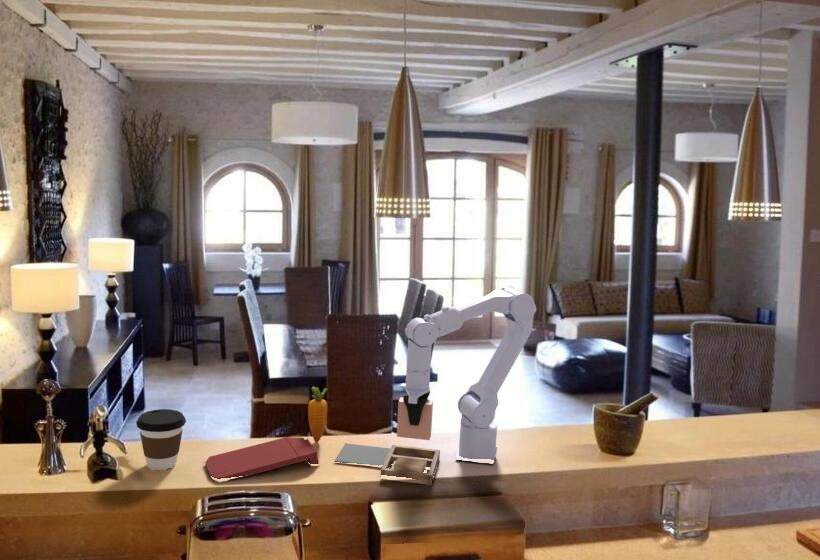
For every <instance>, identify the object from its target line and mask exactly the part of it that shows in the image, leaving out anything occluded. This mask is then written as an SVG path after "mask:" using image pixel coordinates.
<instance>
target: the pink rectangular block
mask: <svg viewBox="0 0 820 560" xmlns="http://www.w3.org/2000/svg"><path fill="white" fill-rule="evenodd" d="M397 405H398V406H397V408H398V409H397V424H396V425H397V426H396V438H397V437H398V438H404V439H406V438H407V439H414V440H415V439H416V440H424V441H430V439H431V436H432V427H433V426H432V425H433V409H434V408H433V407H434V400H430V399H427V402H426V403H425V405H424V407H423V410H422V414H421V419H420V422H419V425H418V426H414V425H410V423H409V417H408V411H407V408H406V405H405V403H404V401H403V397H399V400H398V404H397Z"/></svg>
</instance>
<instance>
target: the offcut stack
mask: <svg viewBox="0 0 820 560" xmlns="http://www.w3.org/2000/svg"><path fill="white" fill-rule="evenodd" d="M426 466H427V461H423V460H417V459H411V458H405V457H399V458H398V459H397V460H396V461H394V463H393V465H392V466H391V467H390V469H397V470H405V471H414V472H422V473H423V472H424V470H426V469H425V467H426Z"/></svg>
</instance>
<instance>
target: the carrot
mask: <svg viewBox="0 0 820 560" xmlns="http://www.w3.org/2000/svg"><path fill="white" fill-rule="evenodd" d="M311 391H312V393H313V395H312V394H311V397H312V398H313V399H312V400H309V402H308V404H307V405H308V406H307V407H308V408H307V409H308V410H307V411H308V413H307V414H308V424H309V429H310V430H309V431H310V433H311V437H312V438H313V440H314V442H315V443H319V442H320V440H321V438H322V437H323V434H324V432H325V428H326V425H327V417H328V403H327V400H325V399H324V397H325V395H326V394H325V393H326V392H327V391H328V388H326V387H324V388H323V390H322V392H320V389H319V387H315V386H312V387H311Z"/></svg>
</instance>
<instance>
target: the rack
mask: <svg viewBox="0 0 820 560" xmlns="http://www.w3.org/2000/svg"><path fill="white" fill-rule="evenodd" d="M390 448H391V449H390V451H389V453H388V455H387V457H386V460H385V462H384V464H383V466H382V468H380V476H381V475H387V476H396V477H406V478H412V479H416V480H421V481H422V482H423V483H424V484H425V485H424V486H429V487H430V486H431V487H432V486H433V483H432V479H433V476H434V473H435V470H436V471H437V469H436V467H437V468H438V466H437V464H438V465H439V462H440V453H441V450H440V449H433V448H425V447H424V448H423V447H416V446H415V447H414V446H407V445H397V444H392V445H391V447H390ZM399 457H405V458H411V459H417V460H423V461H427V466H426V467H430V470H428V472H427V473H422V472H414V471H405V470H397V469H391V467H390V465H391V464H393V463H394V461H396V460H397V459H398V458H399ZM426 458H427V459H426ZM438 461H439V462H438ZM389 467H390V469H388V468H389ZM435 474H436V473H435ZM434 477H435V476H434ZM433 480H434V479H433Z"/></svg>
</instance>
